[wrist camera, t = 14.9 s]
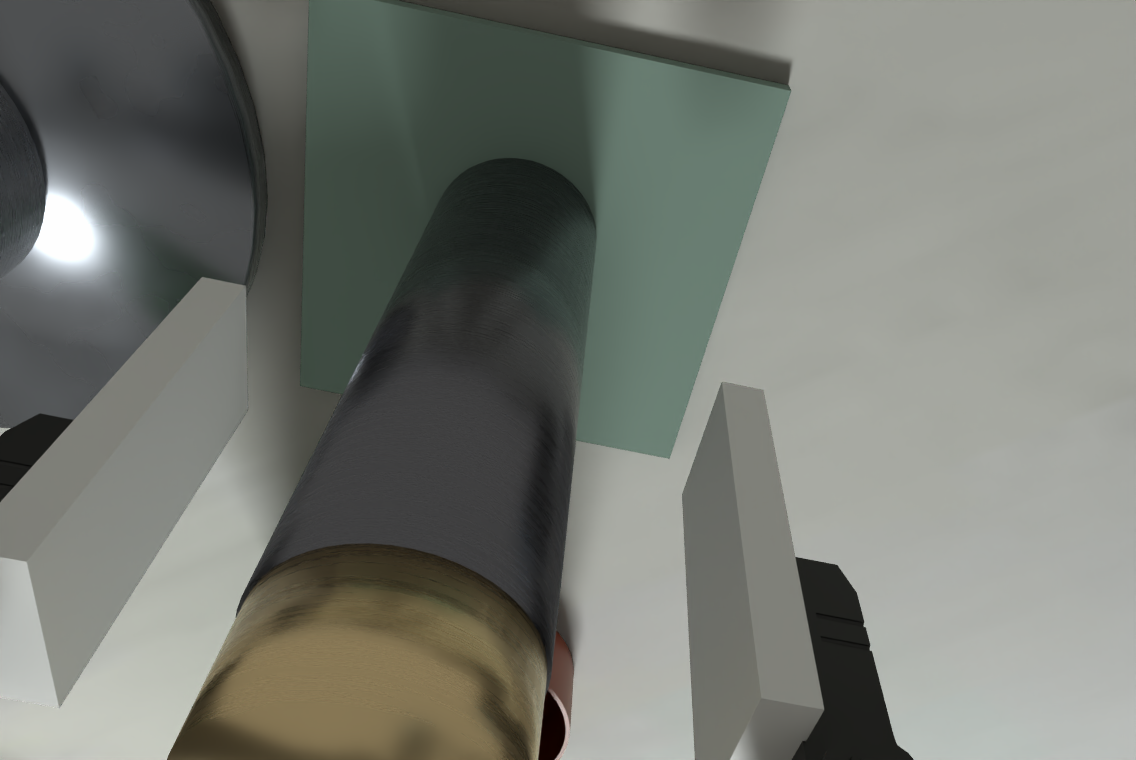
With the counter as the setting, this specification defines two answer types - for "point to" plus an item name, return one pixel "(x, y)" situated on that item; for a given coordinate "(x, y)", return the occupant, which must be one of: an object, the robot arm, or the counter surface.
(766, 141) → the mat
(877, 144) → the counter surface
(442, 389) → the gold capped bottle
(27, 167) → the grey cylinder with box
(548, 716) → the cutaway screw mechanism model
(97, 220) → the base
